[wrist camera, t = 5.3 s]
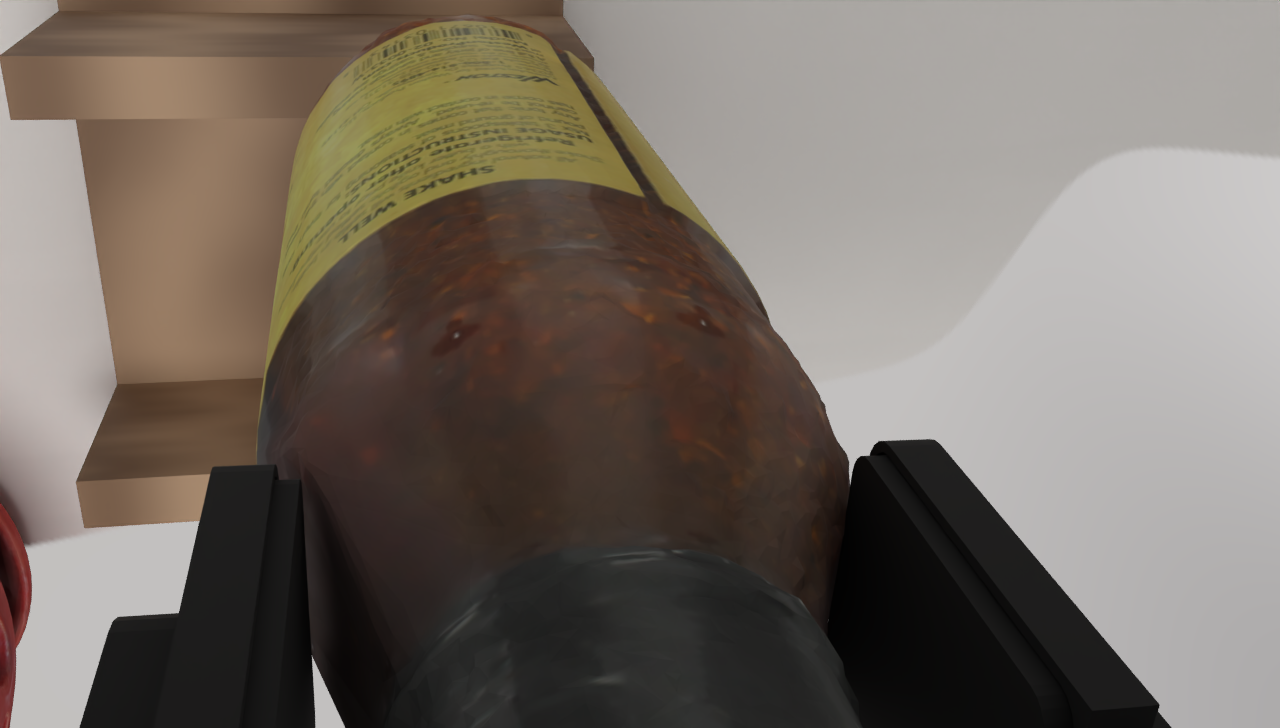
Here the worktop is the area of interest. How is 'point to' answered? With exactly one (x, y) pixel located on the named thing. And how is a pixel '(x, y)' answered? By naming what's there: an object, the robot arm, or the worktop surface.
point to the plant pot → (11, 608)
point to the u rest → (196, 205)
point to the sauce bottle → (538, 413)
